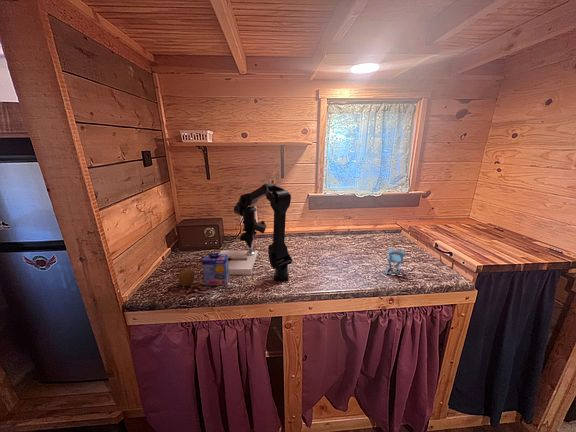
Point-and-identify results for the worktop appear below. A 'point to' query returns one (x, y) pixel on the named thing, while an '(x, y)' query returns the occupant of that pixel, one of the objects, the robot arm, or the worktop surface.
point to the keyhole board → (240, 262)
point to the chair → (395, 259)
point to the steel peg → (251, 251)
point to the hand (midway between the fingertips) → (250, 246)
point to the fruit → (186, 277)
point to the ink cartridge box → (215, 269)
